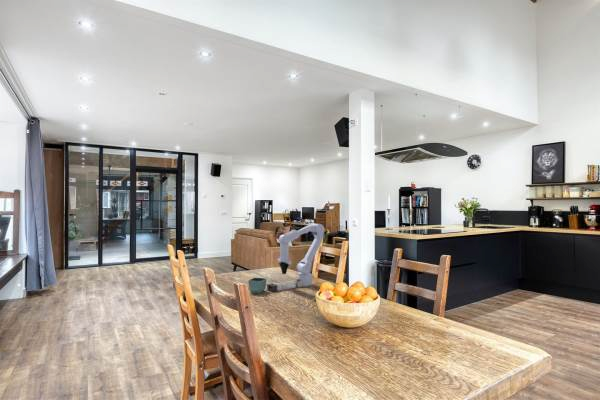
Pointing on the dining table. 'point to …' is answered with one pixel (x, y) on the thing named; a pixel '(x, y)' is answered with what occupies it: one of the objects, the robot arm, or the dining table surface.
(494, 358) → the dining table surface
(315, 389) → the dining table surface
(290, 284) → the bar
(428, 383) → the dining table surface
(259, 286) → the flower pot
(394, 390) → the dining table surface
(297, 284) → the tongs fixed
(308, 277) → the robot arm
